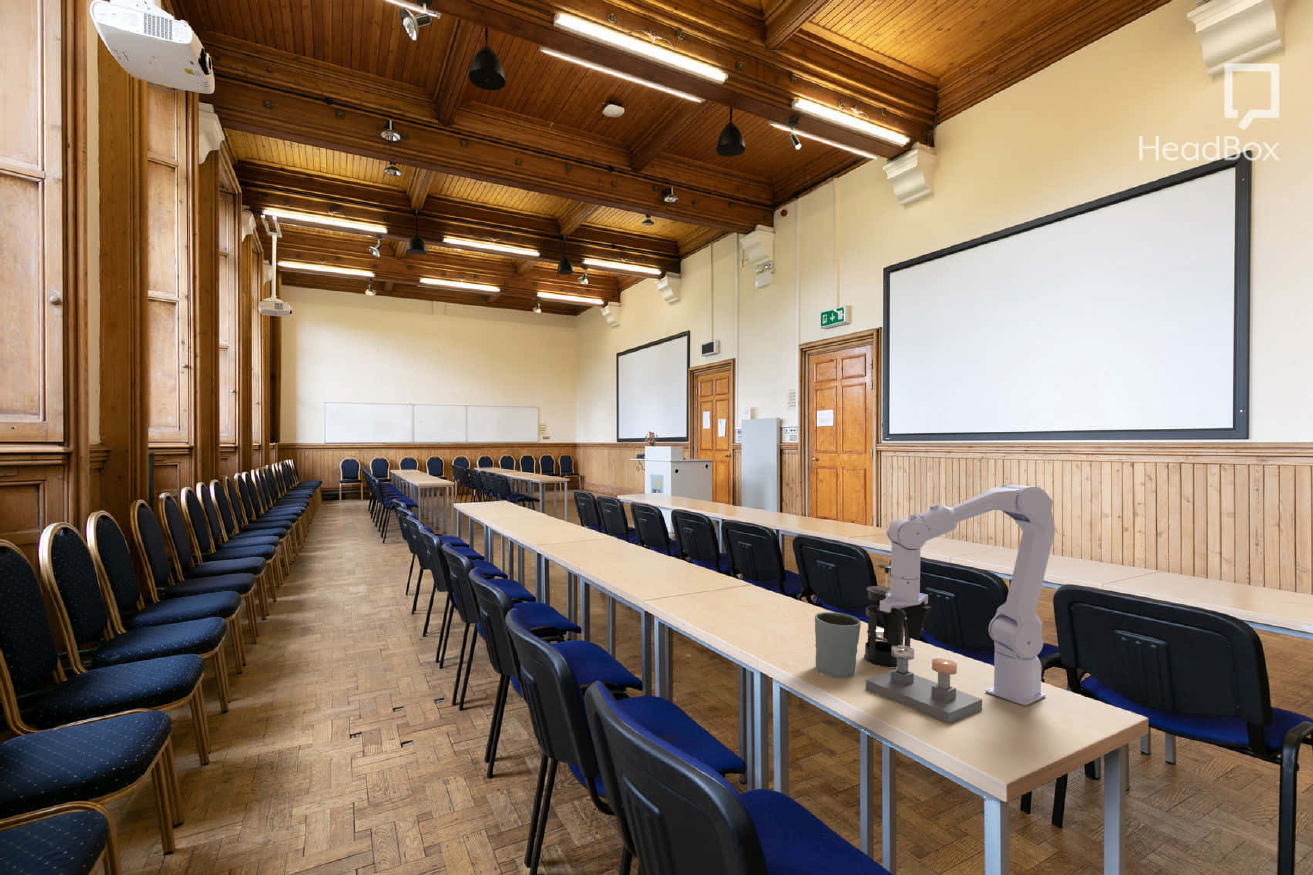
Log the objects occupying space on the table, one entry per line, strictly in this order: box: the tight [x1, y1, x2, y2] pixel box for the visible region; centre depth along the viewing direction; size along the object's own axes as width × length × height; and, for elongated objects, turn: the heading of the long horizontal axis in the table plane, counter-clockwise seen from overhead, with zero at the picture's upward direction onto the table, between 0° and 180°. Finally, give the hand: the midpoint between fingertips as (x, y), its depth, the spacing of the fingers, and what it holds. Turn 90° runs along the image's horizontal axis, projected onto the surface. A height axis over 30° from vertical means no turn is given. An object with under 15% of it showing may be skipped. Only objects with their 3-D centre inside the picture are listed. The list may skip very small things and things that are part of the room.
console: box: [865, 668, 983, 725], centre depth 120 cm, size 12×18×4 cm, turn 35°
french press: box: [863, 563, 912, 668], centre depth 142 cm, size 12×9×23 cm
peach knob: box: [931, 657, 958, 690], centre depth 117 cm, size 4×4×6 cm
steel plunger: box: [892, 644, 915, 675], centre depth 124 cm, size 4×4×6 cm
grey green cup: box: [814, 611, 862, 679], centre depth 134 cm, size 10×10×12 cm
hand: (903, 641), depth 124 cm, fingers open, 7 cm apart
